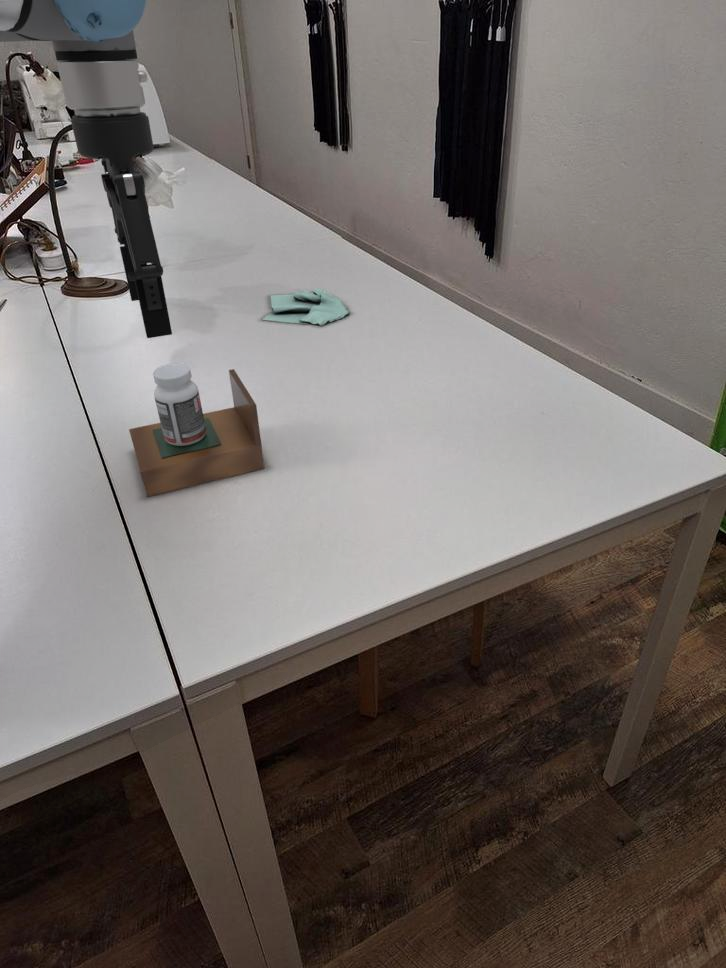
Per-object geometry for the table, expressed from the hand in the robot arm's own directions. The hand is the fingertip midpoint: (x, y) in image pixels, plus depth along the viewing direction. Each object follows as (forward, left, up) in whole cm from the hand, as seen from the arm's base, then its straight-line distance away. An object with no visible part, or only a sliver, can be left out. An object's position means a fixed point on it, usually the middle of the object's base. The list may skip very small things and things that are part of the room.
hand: (150, 316), depth 78 cm
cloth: (+36, +54, -22) cm, 69 cm away
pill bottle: (+1, +2, -18) cm, 18 cm away
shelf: (+2, +2, -22) cm, 22 cm away
